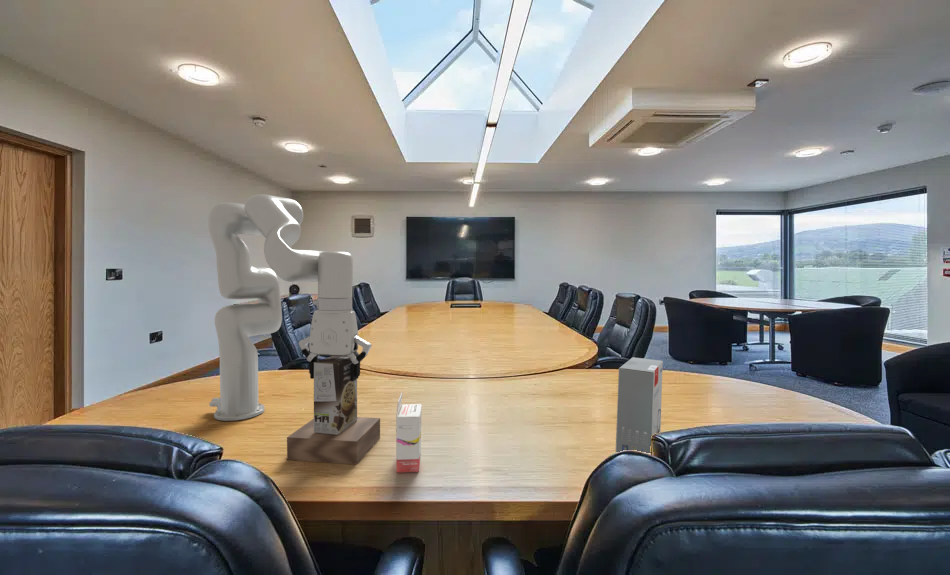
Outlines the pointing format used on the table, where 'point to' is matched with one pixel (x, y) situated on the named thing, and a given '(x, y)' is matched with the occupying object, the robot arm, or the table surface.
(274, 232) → the robot arm
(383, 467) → the table surface
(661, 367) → the hard drive box
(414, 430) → the ink cartridge box
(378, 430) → the walnut plinth
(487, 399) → the table surface
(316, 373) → the chocolate food box
